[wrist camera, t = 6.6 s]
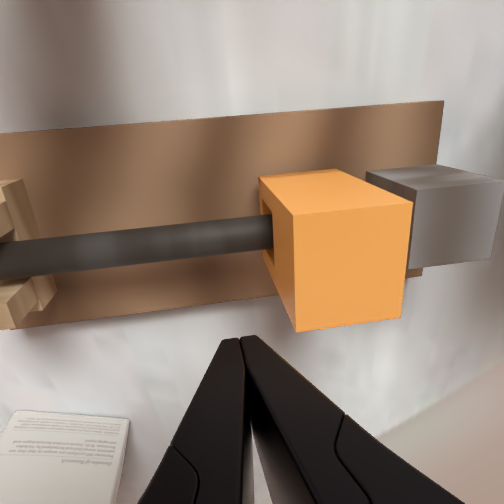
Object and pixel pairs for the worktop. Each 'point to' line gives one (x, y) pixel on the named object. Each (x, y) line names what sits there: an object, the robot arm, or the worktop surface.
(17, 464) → the supplement box
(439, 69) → the worktop surface
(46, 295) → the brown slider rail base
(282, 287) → the sleeve
